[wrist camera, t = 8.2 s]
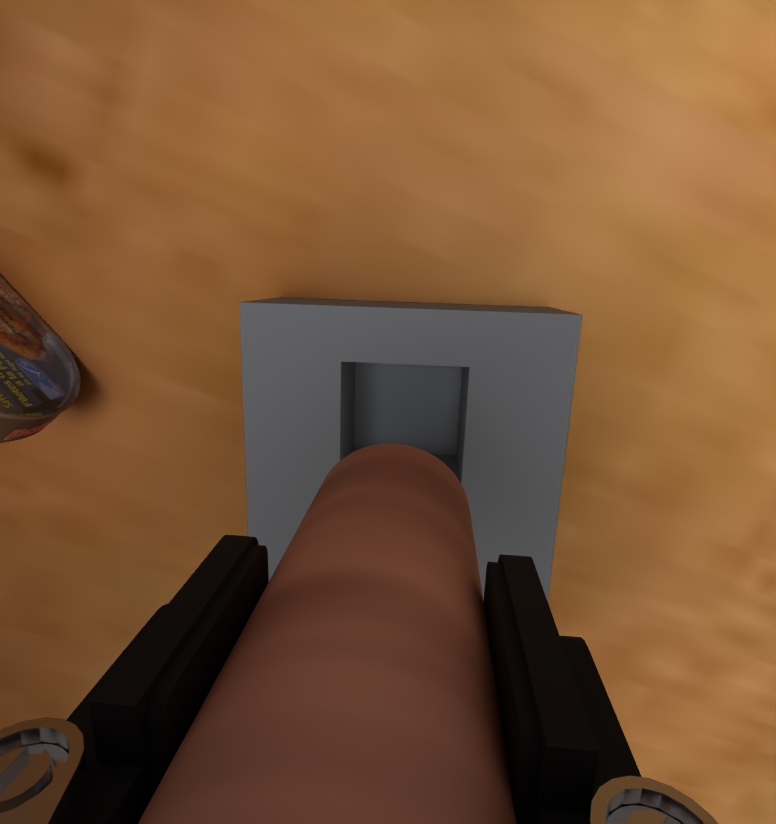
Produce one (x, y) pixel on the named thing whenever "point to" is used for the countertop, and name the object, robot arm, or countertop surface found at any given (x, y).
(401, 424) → the bore block
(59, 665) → the countertop surface
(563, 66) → the countertop surface
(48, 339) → the tin
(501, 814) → the pin
